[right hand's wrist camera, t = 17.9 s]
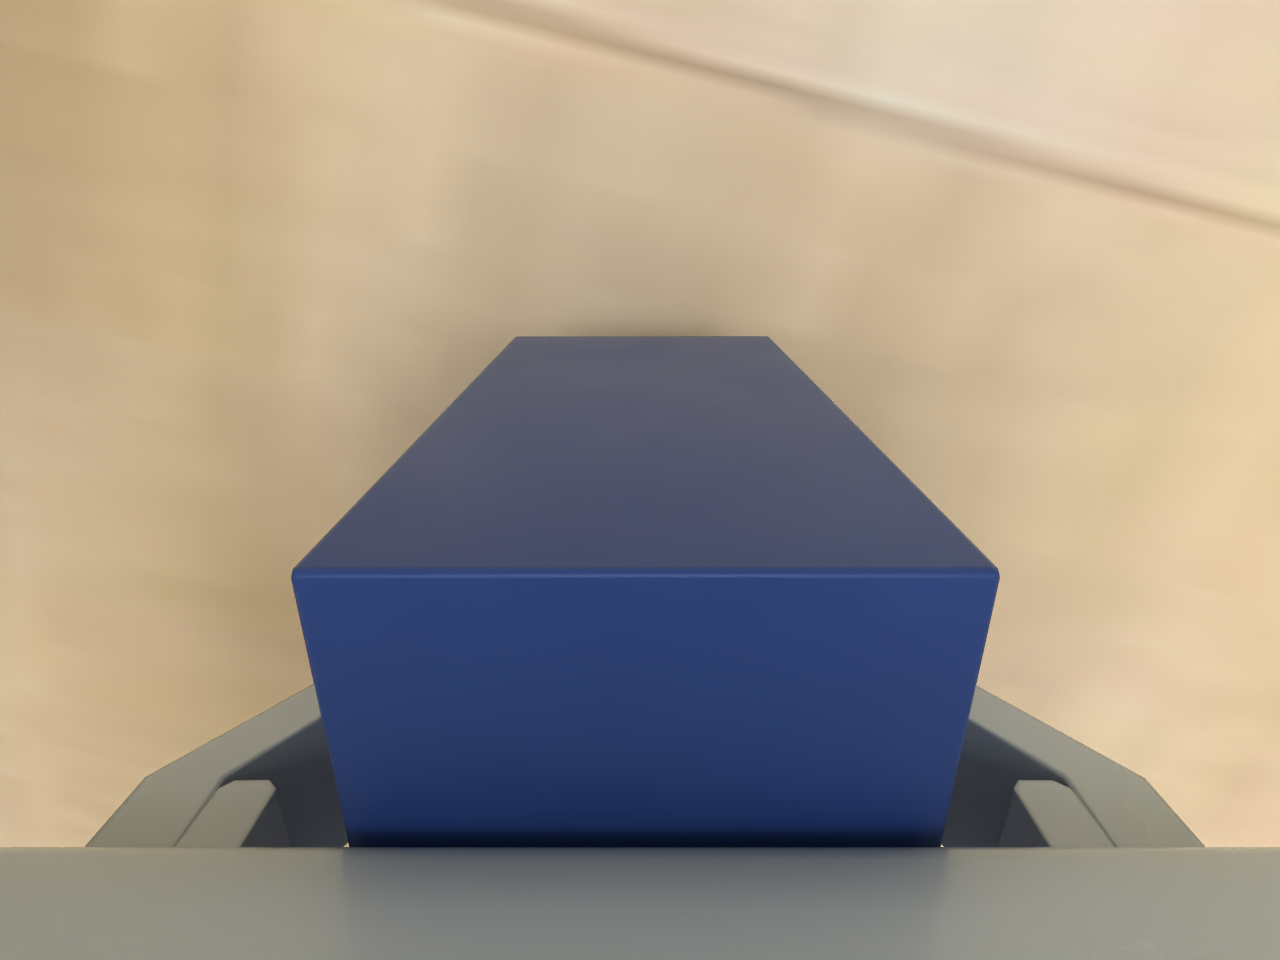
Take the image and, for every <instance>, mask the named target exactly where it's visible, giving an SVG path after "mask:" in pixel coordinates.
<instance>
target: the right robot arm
mask: <svg viewBox="0 0 1280 960" xmlns="http://www.w3.org/2000/svg"><path fill="white" fill-rule="evenodd" d="M347 843H348V838H347V833H346V829H345V824H344V819H343V815H342V810H341V806H340V801H339V796H338V792H337V787H336V783H335V778H334V773H333V769H332V764H331V759H330V755H329V750H328V746H327V741H326V736H325V732H324V727H323V723H322V718H321V713H320V709H319V704H318V700H317V695H316V690H315V686H314V684H313V685H311V686H309V687H307V688H306V689H304V690H302V691H300V692H298V693H297V694H295V695H293V696H291V697H289V698H287V699H286V700H284V701H282V702H280V703H278V704H277V705H275V706H273V707H271V708H269V709H268V710H266V711H264V712H262V713H260V714H259V715H257V716H255V717H253V718H251V719H250V720H248V721H246V722H244V723H242V724H241V725H239V726H237V727H235V728H233V729H232V730H230V731H228V732H226V733H224V734H223V735H221V736H219V737H217V738H215V739H214V740H212V741H210V742H208V743H206V744H205V745H203V746H201V747H199V748H197V749H195V750H194V751H192V752H190V753H188V754H186V755H185V756H183V757H181V758H179V759H177V760H176V761H174V762H172V763H170V764H168V765H167V766H165V767H163V768H161V769H159V770H158V771H156V772H154V773H152V774H150V775H149V776H147V777H145V778H144V780H143V781H142V782H141V783H140V784H139V785H138V786H137V788H136V789H135V790H134V791H133V792H132V793H131V794H130V796H129V797H128V798H127V799H126V800H125V801H124V802H123V804H122V805H121V806H120V807H119V808H118V809H117V810H116V812H115V813H114V814H113V815H112V816H111V817H110V818H109V820H108V821H107V822H106V823H105V824H104V825H103V826H102V828H101V829H100V830H99V831H98V832H97V833H96V834H95V836H94V837H93V838H92V839H91V840H90V841H89V842H88V844H87V845H86V846H85V847H0V960H1280V847H1205V846H1204V845H1203V844H1202V843H1201V841H1200V840H1199V839H1198V838H1197V837H1196V836H1195V835H1194V834H1193V832H1192V831H1191V830H1190V829H1189V828H1188V827H1187V826H1186V824H1185V823H1184V822H1183V821H1182V820H1181V819H1180V818H1179V817H1178V815H1177V814H1176V813H1175V812H1174V811H1173V810H1172V809H1171V807H1170V806H1169V805H1168V804H1167V803H1166V802H1165V801H1164V800H1163V798H1162V797H1161V796H1160V795H1159V794H1158V793H1157V792H1156V791H1155V789H1154V788H1153V787H1152V786H1151V785H1150V784H1149V783H1148V781H1147V780H1146V779H1145V778H1143V777H1141V776H1140V775H1138V774H1136V773H1134V772H1132V771H1131V770H1129V769H1127V768H1125V767H1123V766H1121V765H1120V764H1118V763H1116V762H1114V761H1112V760H1111V759H1109V758H1107V757H1105V756H1103V755H1102V754H1100V753H1098V752H1096V751H1094V750H1092V749H1091V748H1089V747H1087V746H1085V745H1083V744H1082V743H1080V742H1078V741H1076V740H1074V739H1072V738H1071V737H1069V736H1067V735H1065V734H1063V733H1062V732H1060V731H1058V730H1056V729H1054V728H1053V727H1051V726H1049V725H1047V724H1045V723H1043V722H1042V721H1040V720H1038V719H1036V718H1034V717H1033V716H1031V715H1029V714H1027V713H1025V712H1023V711H1022V710H1020V709H1018V708H1016V707H1014V706H1013V705H1011V704H1009V703H1007V702H1005V701H1003V700H1002V699H1000V698H998V697H996V696H994V695H993V694H991V693H989V692H987V691H985V690H984V689H982V688H980V687H978V686H976V687H975V692H974V696H973V701H972V705H971V710H970V714H969V719H968V723H967V728H966V733H965V737H964V742H963V746H962V751H961V755H960V760H959V764H958V769H957V773H956V778H955V782H954V787H953V791H952V796H951V801H950V805H949V810H948V814H947V819H946V823H945V828H944V832H943V837H942V841H941V844H942V845H943V846H944V847H343V846H344V845H346V844H347Z"/></svg>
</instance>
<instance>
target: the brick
mask: <svg viewBox="0 0 1280 960" xmlns="http://www.w3.org/2000/svg"><path fill="white" fill-rule="evenodd" d="M999 579H1000V577H999V571H998V568H997V567H996V566H995V565H994V564H993V563H992V562H991V561H990V560H989V559H988V558H987V557H986V556H985V555H984V554H983V553H982V552H981V551H980V550H979V549H978V548H977V547H976V546H975V545H974V544H973V543H972V542H971V541H970V540H969V539H968V538H967V537H966V536H965V535H964V534H963V533H962V532H961V531H960V530H959V529H958V528H957V527H956V526H955V525H954V524H953V523H952V522H951V521H950V520H949V519H948V518H947V517H946V516H945V515H944V514H943V513H942V512H941V511H940V510H939V509H938V508H937V507H936V506H935V505H934V504H933V503H932V502H931V501H930V500H929V499H928V498H927V497H926V496H925V495H924V494H923V493H922V491H921V490H920V489H919V488H918V487H917V486H916V485H915V484H914V483H913V482H912V481H911V480H910V479H909V478H908V477H907V476H906V475H905V474H904V473H903V472H902V471H901V470H900V469H899V468H898V467H897V466H896V465H895V464H894V463H893V462H892V461H891V460H890V459H889V458H888V457H887V456H886V455H885V454H884V453H883V452H882V451H881V450H880V449H879V448H878V447H877V446H876V445H875V444H874V443H873V442H872V441H871V440H870V439H869V438H868V437H867V436H866V435H865V434H864V433H863V432H862V431H861V430H860V429H859V428H858V427H857V426H856V425H855V424H854V423H853V422H852V421H851V420H850V419H849V418H848V417H847V416H846V415H845V414H844V413H843V412H842V411H841V410H840V409H839V408H838V407H837V406H836V405H835V404H834V403H833V402H832V401H831V400H830V398H829V397H828V396H827V395H826V394H825V393H824V392H823V391H822V390H821V389H820V388H819V387H818V386H817V385H816V384H815V383H814V382H813V381H812V380H811V379H810V378H809V377H808V376H807V375H806V374H805V373H804V372H803V371H802V370H801V369H800V368H799V367H798V366H797V365H796V364H795V363H794V362H793V361H792V360H791V359H790V358H789V357H788V356H787V355H786V354H785V353H784V352H783V351H782V350H781V349H780V348H779V347H778V346H777V345H776V344H775V343H774V342H773V341H772V340H771V339H770V338H769V337H767V336H714V337H516V338H514V339H513V340H512V341H511V342H510V344H509V345H508V346H507V347H506V348H505V349H504V350H503V351H502V352H501V353H500V354H499V355H498V356H497V357H496V358H495V359H494V360H493V361H492V362H491V363H490V364H489V365H488V366H487V367H486V369H485V370H484V371H483V372H482V373H481V374H480V375H479V376H478V377H477V378H476V379H475V380H474V381H473V382H472V383H471V384H470V385H469V386H468V387H467V388H466V389H465V390H464V391H463V393H462V394H461V395H460V396H459V397H458V398H457V399H456V400H455V401H454V402H453V403H452V404H451V405H450V406H449V407H448V408H447V409H446V410H445V411H444V412H443V413H442V414H441V415H440V417H439V418H438V419H437V420H436V421H435V422H434V423H433V424H432V425H431V426H430V427H429V428H428V429H427V430H426V431H425V432H424V433H423V434H422V435H421V436H420V437H419V438H418V439H417V440H416V442H415V443H414V444H413V445H412V446H411V447H410V448H409V449H408V450H407V451H406V452H405V453H404V454H403V455H402V456H401V457H400V458H399V459H398V460H397V461H396V462H395V463H394V464H393V466H392V467H391V468H390V469H389V470H388V471H387V472H386V473H385V474H384V475H383V476H382V477H381V478H380V479H379V480H378V481H377V482H376V483H375V484H374V485H373V486H372V487H371V488H370V490H369V491H368V492H367V493H366V494H365V495H364V496H363V497H362V498H361V499H360V500H359V501H358V502H357V503H356V504H355V505H354V506H353V507H352V508H351V509H350V510H349V511H348V512H347V513H346V515H345V516H344V517H343V518H342V519H341V520H340V521H339V522H338V523H337V524H336V525H335V526H334V527H333V528H332V529H331V530H330V531H329V532H328V533H327V534H326V535H325V536H324V537H323V539H322V540H321V541H320V542H319V543H318V544H317V545H316V546H315V547H314V548H313V549H312V550H311V551H310V552H309V553H308V554H307V555H306V556H305V557H304V558H303V559H302V560H301V561H300V563H299V564H298V565H297V566H296V567H295V568H294V569H293V571H292V576H291V580H292V584H293V589H294V593H295V598H296V603H297V607H298V612H299V616H300V621H301V626H302V630H303V635H304V640H305V644H306V649H307V653H308V658H309V663H310V667H311V672H312V676H313V681H314V686H315V690H316V695H317V700H318V704H319V709H320V713H321V718H322V723H323V727H324V732H325V736H326V741H327V746H328V750H329V755H330V759H331V764H332V769H333V773H334V778H335V783H336V787H337V792H338V796H339V801H340V806H341V810H342V815H343V819H344V824H345V829H346V833H347V838H348V843H349V847H940V846H941V841H942V837H943V832H944V828H945V823H946V819H947V814H948V810H949V805H950V801H951V796H952V791H953V787H954V782H955V778H956V773H957V769H958V764H959V760H960V755H961V751H962V746H963V742H964V737H965V733H966V728H967V723H968V719H969V714H970V710H971V705H972V701H973V696H974V692H975V687H976V683H977V678H978V674H979V669H980V665H981V660H982V656H983V651H984V646H985V642H986V637H987V633H988V628H989V624H990V619H991V615H992V610H993V606H994V601H995V597H996V592H997V588H998V583H999Z"/></svg>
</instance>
